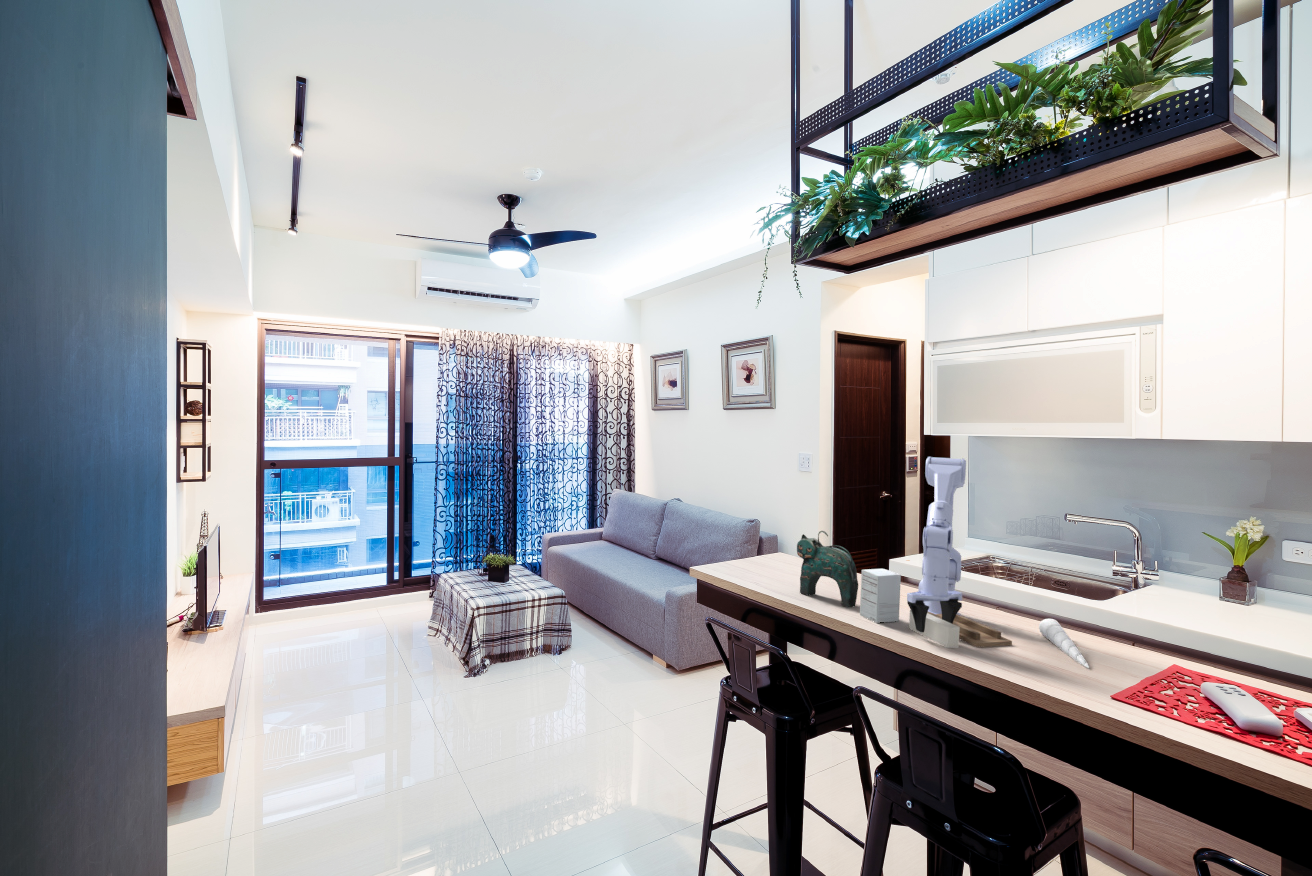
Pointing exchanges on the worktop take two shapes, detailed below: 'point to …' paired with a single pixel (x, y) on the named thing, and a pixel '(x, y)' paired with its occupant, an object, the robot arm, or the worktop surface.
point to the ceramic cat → (827, 568)
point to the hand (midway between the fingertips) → (933, 630)
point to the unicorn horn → (1061, 639)
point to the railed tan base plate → (977, 632)
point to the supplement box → (880, 595)
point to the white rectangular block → (938, 630)
